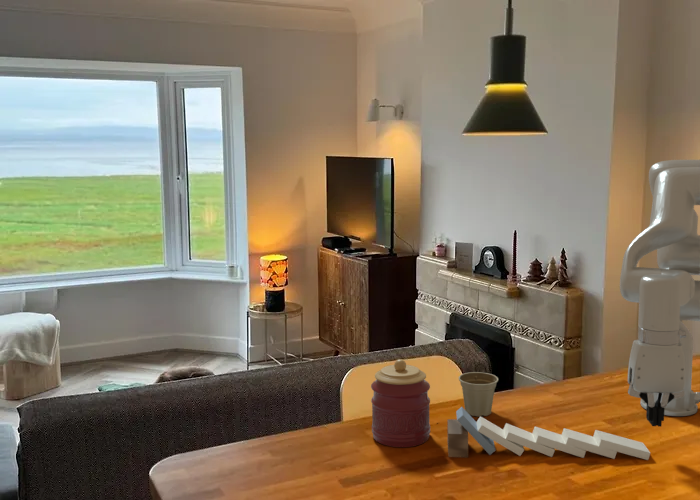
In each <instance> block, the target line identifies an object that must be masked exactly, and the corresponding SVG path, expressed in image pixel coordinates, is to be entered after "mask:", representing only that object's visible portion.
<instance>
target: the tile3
mask: <svg viewBox="0 0 700 500" xmlns="http://www.w3.org/2000/svg"><path fill="white" fill-rule="evenodd" d="M531 433H532V434H533V436H534V439H535V442H536V443H539V444H542V445H545V446H548V447H551V448H554V449H555V450H557V451H562V452H564V453H567V454H570V455H573V456H576V457H580V458H583V459H584V458H585V455H586V452H587V451H586V450H583V449H579V448H576V447H573V446H569V445H566V443H565V441H564V439H563V437H562V434H561V433H558V432H554V431H550V430H547V429H544V428H541V427H538V426H534V428H533V430H532V432H531Z"/></svg>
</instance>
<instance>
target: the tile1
mask: <svg viewBox="0 0 700 500" xmlns="http://www.w3.org/2000/svg"><path fill="white" fill-rule="evenodd" d="M593 437H594V439H595V441H596V442H597V444H598V446H599V447H602V448H606V449H610V450H613V451H617V453H621V454H625V455H628V456H631V457H634V458H635V457H636V458H639V459H643V460H646V461H649V459H650V456H651V452H650V450H649V449H648V448H647V446H646V445H645V444H644V442H642V441H638V440H634V439H631V438H630V439H629V438H626V437H623V436H620V435H616V434H612V433H609V432H605V431H601V430H598V429H595V430H594V433H593Z"/></svg>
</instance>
